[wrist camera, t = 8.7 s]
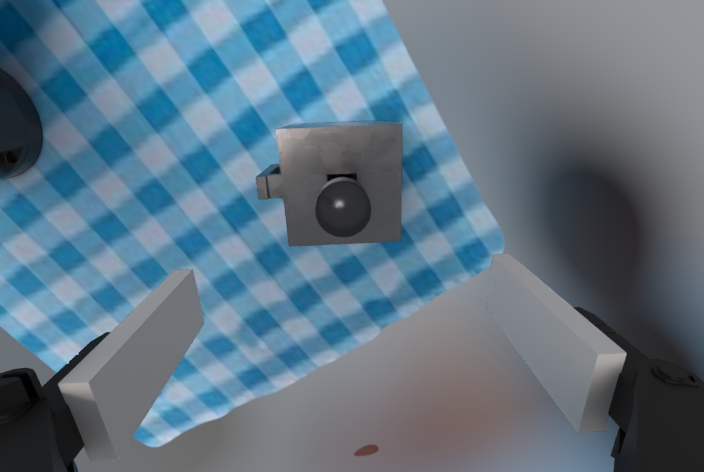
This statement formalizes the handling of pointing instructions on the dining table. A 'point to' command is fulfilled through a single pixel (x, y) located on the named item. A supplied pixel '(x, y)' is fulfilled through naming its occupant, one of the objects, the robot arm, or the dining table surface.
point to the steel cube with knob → (337, 158)
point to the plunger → (343, 206)
